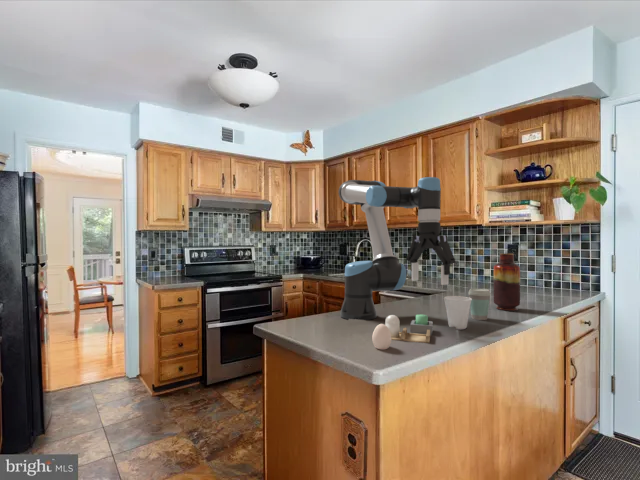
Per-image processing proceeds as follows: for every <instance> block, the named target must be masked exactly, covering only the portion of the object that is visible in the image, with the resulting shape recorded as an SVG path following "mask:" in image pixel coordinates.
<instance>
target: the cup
mask: <svg viewBox="0 0 640 480" xmlns="http://www.w3.org/2000/svg"><path fill="white" fill-rule="evenodd" d="M443 299H444V300H443V301H444V305H445V311H446V316H447V324H448V327H450V328H455V330H465V329H466V328H467V327H468V321H469V316H470V311H471V308H470V305H471V300H472V299H471V298H469V297H468V296H462V295H461V296H459V295H447V296H444V297H443Z"/></svg>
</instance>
